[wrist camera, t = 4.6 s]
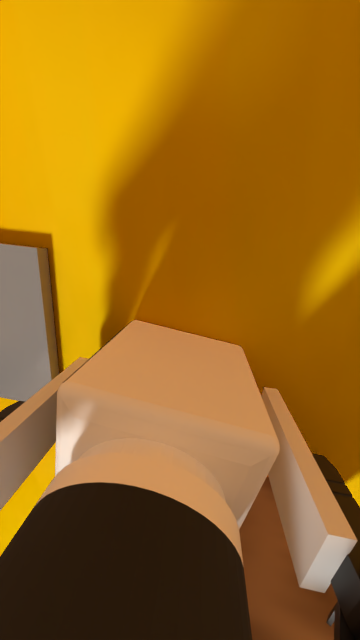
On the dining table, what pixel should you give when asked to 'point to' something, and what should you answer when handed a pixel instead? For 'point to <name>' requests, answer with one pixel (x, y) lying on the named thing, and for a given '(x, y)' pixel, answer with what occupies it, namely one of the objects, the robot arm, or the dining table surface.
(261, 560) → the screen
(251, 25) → the dining table surface
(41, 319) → the coaster
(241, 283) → the dining table surface
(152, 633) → the medicine bottle
